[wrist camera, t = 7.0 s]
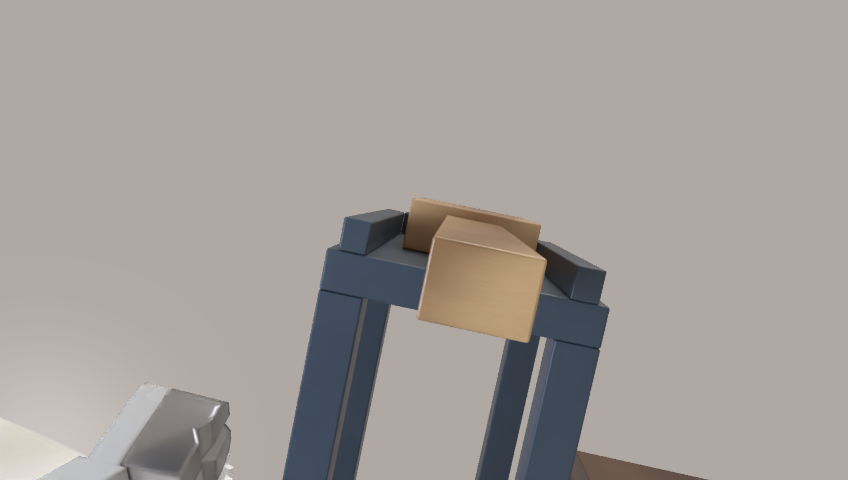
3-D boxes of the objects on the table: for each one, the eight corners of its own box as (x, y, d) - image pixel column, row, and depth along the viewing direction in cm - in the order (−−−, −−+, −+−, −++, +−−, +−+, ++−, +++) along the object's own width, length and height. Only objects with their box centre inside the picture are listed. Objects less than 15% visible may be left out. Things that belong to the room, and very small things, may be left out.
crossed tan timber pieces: (340, 303, 13) (360, 200, 13) (414, 237, 33) (422, 197, 33) (606, 361, 13) (631, 256, 12) (515, 258, 33) (524, 218, 33)
